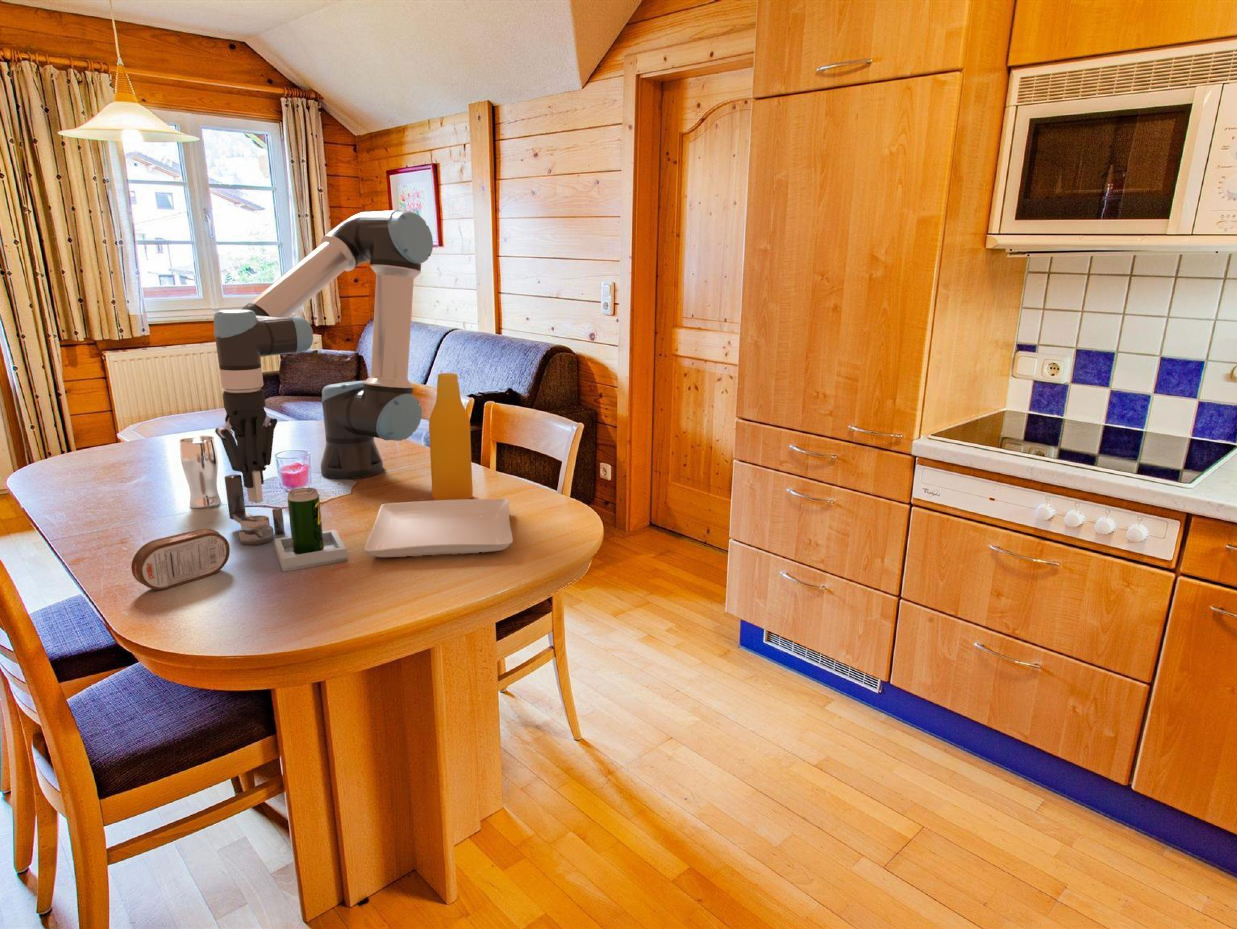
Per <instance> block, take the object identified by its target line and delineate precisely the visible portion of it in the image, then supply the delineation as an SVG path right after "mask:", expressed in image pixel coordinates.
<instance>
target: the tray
mask: <svg viewBox="0 0 1237 929" xmlns="http://www.w3.org/2000/svg"><path fill="white" fill-rule="evenodd" d="M322 532H323V543H324V549H323V550H322V551H316V552H310V553H304V554H298V555H295V554H294V552H293V546H292V537H291V536H285V537H278V538H274V539H273V540H274V542H273V543H274V548H275V549H274V550H275V553H276V556H277V557H276V558H277V560H278V562H279V565H280V568H281V571H282V572H283V573H285V572H289V571H296V570H300V569H306V568H308V569H309V568H312V567H313V568H314V567H319V566H325V565H330V564H336V563H340V562H341V563H342V562H347V561H348V555H347V554H348V553H347V548H346V545H345V544H344V542H343V540H342V539H341V537H340V535H339V533H338V532H337V530H336V529H331V530H330V529H329V530H322Z"/></svg>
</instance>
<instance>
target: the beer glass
mask: <svg viewBox="0 0 1237 929" xmlns="http://www.w3.org/2000/svg"><path fill="white" fill-rule="evenodd" d="M215 442H216V441H215V438H214V436H212V435H194V436H188V437H183V438H181V439H180V440H179V454H180V461H181V466H182V470H183V473H184V476H185V480H186V481H187V484H188V488H189V493H190V494H189V498H190V500H189V507H190V508H191V509H196V510H203V509H205V510H206V509H211V508H214V507H217V506H220V505H221V503H222V500H221V497H220V495H219V491H218V486H217V485H218V470H219V466H218V465H219V464H218V461H219V459H218V453H217V452H218V451H217V447H216V443H215Z"/></svg>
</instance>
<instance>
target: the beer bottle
mask: <svg viewBox="0 0 1237 929" xmlns="http://www.w3.org/2000/svg"><path fill="white" fill-rule="evenodd" d="M436 384H437V385H436V398H435V404H434V406H433V408H432V411H431V414H430V417H429V420H428V434H429V435H428V436H429V451H430V452H429V454H430V456H429V457H430V473H431V496H432V500H433V501H436V500H463V499H470V498H471V497H472V498H473V492H474V491H473V469H472V443H471V442H472V441H471V439H472V438H471V421H470V416H469V414H468V412H467V411H466V408H465V406H464V404H463V402H462V397H461V391H460V386H459V384H460V383H459V379H458V374H457V373H451V372H448V373H446V372H445V373H439V374H437V383H436ZM472 498H471V499H472Z"/></svg>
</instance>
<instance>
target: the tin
mask: <svg viewBox="0 0 1237 929" xmlns="http://www.w3.org/2000/svg"><path fill="white" fill-rule="evenodd" d="M230 550H231V549H230V543H229V541H228V540H227V539H226V537H225V536H224V535H222V534H221V533H220V532H218V531H217V530H215V529H212V528H207V527H201V528H197V529H194V530H190V531H185V532H182V533H178V534H173V535H170V536H169V535H168V536H166V537H165V536H164V537H161V538H157V539H153V540H151V541H149V542H147V543H145V544H144V545H142V546H141V547H140V548H139V549H138V550H137V551H136V553H135V554H134V556H133V558H132V560H131V561H132V562H131V568H130V569H131V573H132V576H133V577H134V579H135V581H137V582H139V583H140V584H142V585H143V586H144V587H147V588H149V589H151V590H156V591H157V590H167V589H169V588H174V587H176V586H177V587H178V586H180V585H183V584H187V583H191V582H193V581H196V580H199V579H204V578H206V577H210V576H213V575H215V574H217V573H218V572H219V571H221V570H222V569H223V568H224V567H225V566H226V564H227V563H228V560H229V558H230V552H231V551H230Z"/></svg>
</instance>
